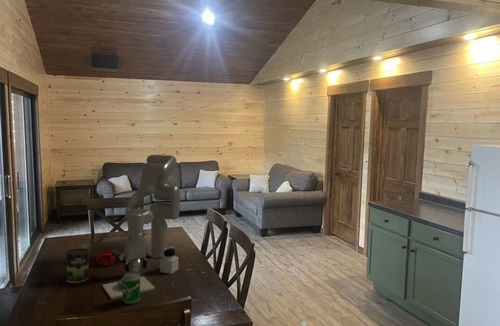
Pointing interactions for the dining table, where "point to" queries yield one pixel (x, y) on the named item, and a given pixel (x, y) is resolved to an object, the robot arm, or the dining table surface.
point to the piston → (136, 266)
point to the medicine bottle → (169, 261)
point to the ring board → (119, 292)
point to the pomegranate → (105, 258)
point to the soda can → (131, 288)
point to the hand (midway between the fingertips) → (135, 269)
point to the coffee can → (77, 265)
